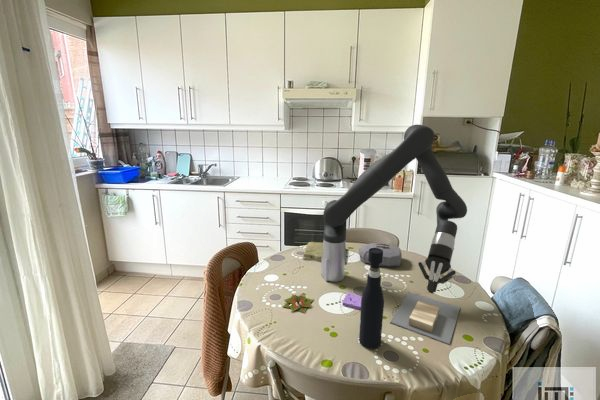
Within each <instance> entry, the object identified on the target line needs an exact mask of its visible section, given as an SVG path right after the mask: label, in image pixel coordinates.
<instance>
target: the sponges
mask: <svg viewBox="0 0 600 400" xmlns="http://www.w3.org/2000/svg"><path fill="white" fill-rule="evenodd" d="M361 298H362V295H359V294H354V293H350V292H346V293H345V296H344V298H343V300H342V302H341V303H342V306H343V307H348V308H350V309H351V308H352V309H356V310H360V311H361Z"/></svg>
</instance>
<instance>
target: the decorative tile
mask: <svg viewBox="0 0 600 400" xmlns="http://www.w3.org/2000/svg"><path fill="white" fill-rule="evenodd" d="M346 250H347V245H345V252H347V251H346ZM322 254H323V242H317V241H316V242H315V241H309V242H308V243H307V244H306V248H305V249H304V253H303V257H302V258H303V259H302V260H304V261H315V262H320V263H321V258H322Z"/></svg>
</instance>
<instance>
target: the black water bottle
mask: <svg viewBox="0 0 600 400" xmlns="http://www.w3.org/2000/svg"><path fill="white" fill-rule="evenodd" d="M382 259H383V250H381V249H379V248H370V249H369V255H368V261H369V262H370V265H369V268H368V274H367V276H366V277H367V278H366V285H365V286H364V289H363V291H362V295H361V296H362V298H361V310H360V319H359V333H358V338H359V339H358V340H359V341H358V342H359V343H360V346H362V347H364V348H365V349H368V350H377V349H379V348H380V346H381V344H382V331H383V319H384V305H385V299H384V293H383V289H382V285H381V281H382V276H381V275H382V274H381V269H380V267H381V266H380V264H381V263H382Z"/></svg>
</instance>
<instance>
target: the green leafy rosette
mask: <svg viewBox="0 0 600 400" xmlns="http://www.w3.org/2000/svg"><path fill="white" fill-rule="evenodd" d="M304 294H305V293H304V292H303V293H302V294H301V293H299V295H298V293H294V294H292V295H291V297H289V298H286V299H284V301H286V303H284V304H283V305H282V306H281V307H282V308H288V309H289V308H290V309H291V310H290V311H291V313H294V312H295V311H299V312H301V313H303V314H306V311H307V308H313V305H312V304H311V303H312V302H313V301H314V299H311V298H307V297H306V295H304ZM296 302H297V303H296ZM300 302H301V303H300ZM290 304H292V305H291V306H289V305H290ZM299 304H300V305H299Z"/></svg>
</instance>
